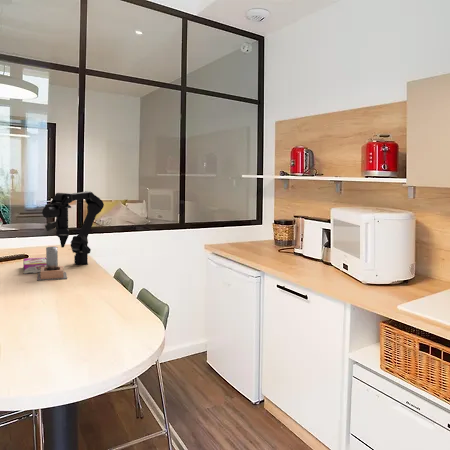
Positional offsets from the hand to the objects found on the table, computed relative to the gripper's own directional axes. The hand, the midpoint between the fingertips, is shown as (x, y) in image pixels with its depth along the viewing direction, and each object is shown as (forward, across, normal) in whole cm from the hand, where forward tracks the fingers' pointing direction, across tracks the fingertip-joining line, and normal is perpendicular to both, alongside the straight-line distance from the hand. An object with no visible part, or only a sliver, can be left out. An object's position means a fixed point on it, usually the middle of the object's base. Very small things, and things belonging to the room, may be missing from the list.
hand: (62, 245), depth 210 cm
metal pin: (+12, +18, -5) cm, 22 cm away
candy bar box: (+9, -8, -14) cm, 18 cm away
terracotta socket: (+12, +18, -5) cm, 22 cm away
